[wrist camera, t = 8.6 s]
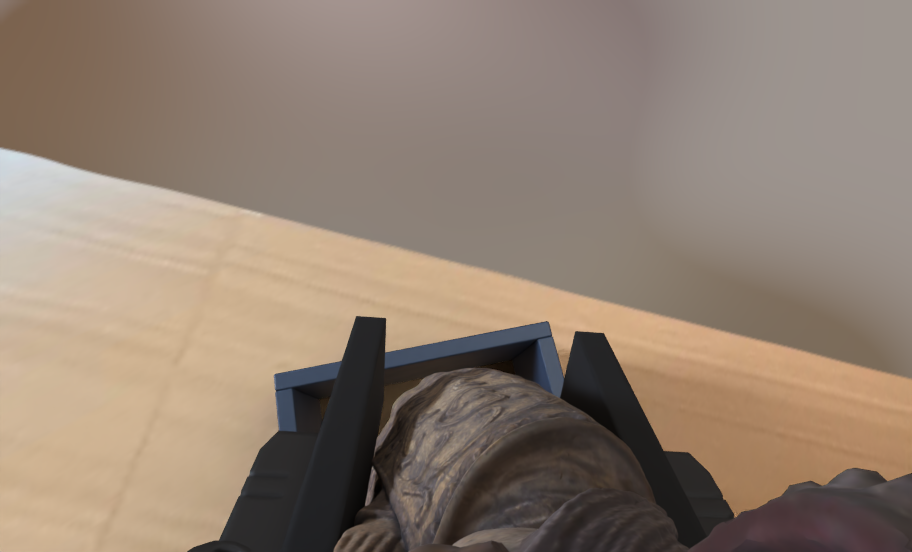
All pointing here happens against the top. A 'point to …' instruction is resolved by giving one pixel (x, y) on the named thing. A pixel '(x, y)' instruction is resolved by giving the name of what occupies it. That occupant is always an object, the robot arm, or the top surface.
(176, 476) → the top surface
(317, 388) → the bin
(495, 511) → the statue
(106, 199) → the top surface
